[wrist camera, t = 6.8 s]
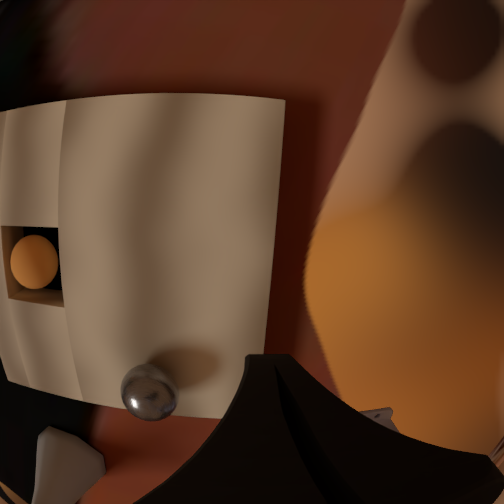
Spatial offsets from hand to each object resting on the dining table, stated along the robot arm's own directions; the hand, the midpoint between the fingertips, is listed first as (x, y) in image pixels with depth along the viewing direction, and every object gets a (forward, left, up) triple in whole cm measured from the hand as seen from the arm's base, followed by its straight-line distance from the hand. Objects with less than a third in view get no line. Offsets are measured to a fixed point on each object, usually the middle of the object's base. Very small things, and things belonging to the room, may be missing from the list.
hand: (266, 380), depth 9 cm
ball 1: (+13, -1, -8) cm, 15 cm away
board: (+8, -1, -9) cm, 12 cm away
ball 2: (+5, +5, -5) cm, 9 cm away
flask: (+15, +18, -10) cm, 25 cm away
